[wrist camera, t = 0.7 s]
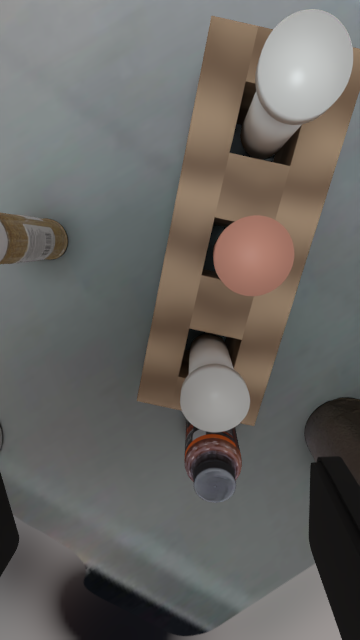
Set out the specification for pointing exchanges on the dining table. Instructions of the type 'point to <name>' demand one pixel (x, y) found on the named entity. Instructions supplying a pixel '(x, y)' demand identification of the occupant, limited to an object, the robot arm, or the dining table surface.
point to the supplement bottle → (212, 462)
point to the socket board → (229, 206)
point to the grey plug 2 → (296, 79)
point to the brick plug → (253, 255)
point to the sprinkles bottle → (30, 239)
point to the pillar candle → (336, 432)
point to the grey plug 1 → (213, 387)
